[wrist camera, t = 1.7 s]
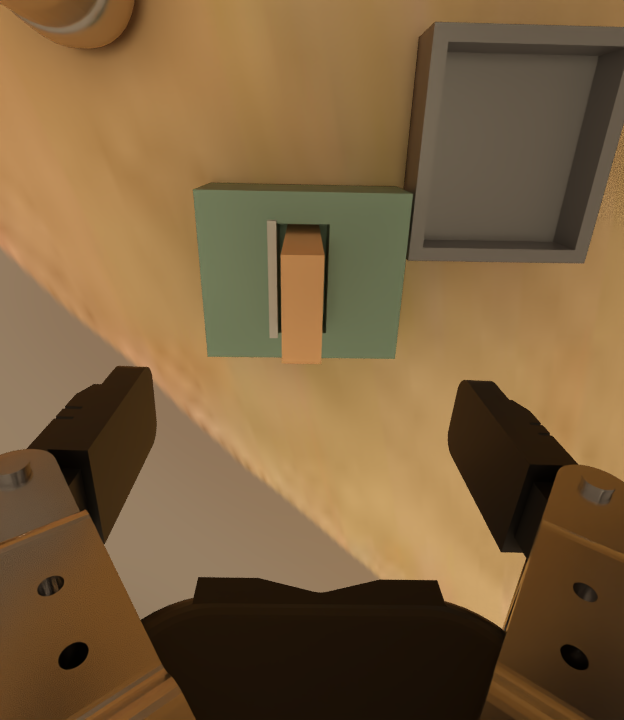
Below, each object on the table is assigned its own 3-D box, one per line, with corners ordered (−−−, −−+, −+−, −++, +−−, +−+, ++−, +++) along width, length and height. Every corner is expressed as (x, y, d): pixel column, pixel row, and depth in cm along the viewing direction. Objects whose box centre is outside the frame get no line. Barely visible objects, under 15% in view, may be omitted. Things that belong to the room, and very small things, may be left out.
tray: (608, 42, 26) (650, 27, 23) (555, 251, 31) (583, 263, 28) (418, 37, 26) (435, 21, 22) (397, 248, 31) (408, 260, 28)
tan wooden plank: (319, 224, 29) (324, 255, 20) (316, 306, 31) (321, 363, 23) (287, 223, 29) (280, 254, 20) (287, 306, 31) (281, 363, 23)
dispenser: (396, 186, 29) (414, 194, 24) (382, 330, 33) (396, 361, 28) (210, 182, 29) (191, 190, 24) (221, 327, 33) (206, 359, 28)
